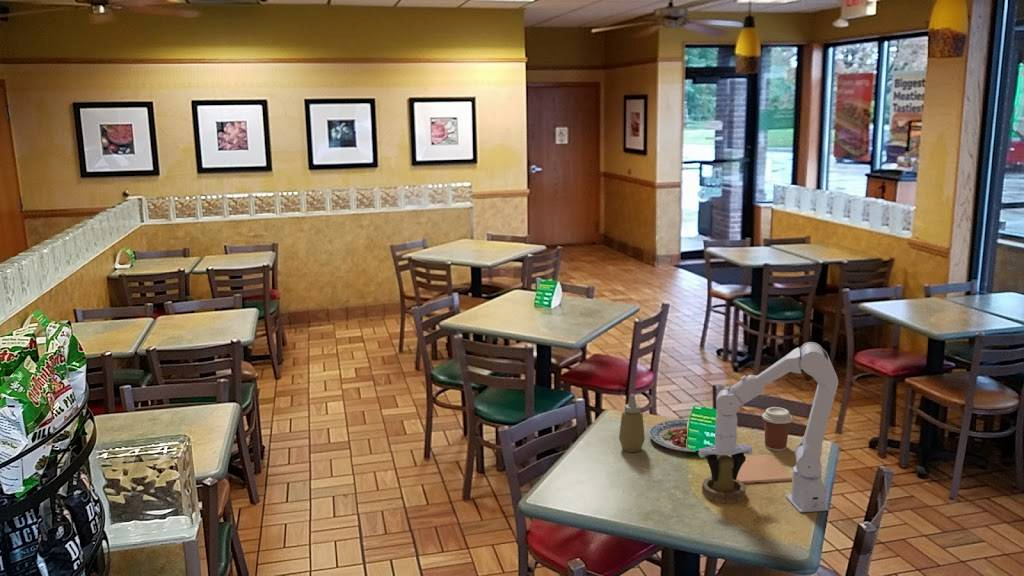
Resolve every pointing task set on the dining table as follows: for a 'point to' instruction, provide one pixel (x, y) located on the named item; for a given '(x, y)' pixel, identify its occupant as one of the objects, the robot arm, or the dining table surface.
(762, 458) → the coaster
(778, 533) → the dining table surface
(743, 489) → the holder ring
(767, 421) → the coffee cup
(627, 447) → the squeeze bottle
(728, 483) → the cork
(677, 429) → the ceramic plate
